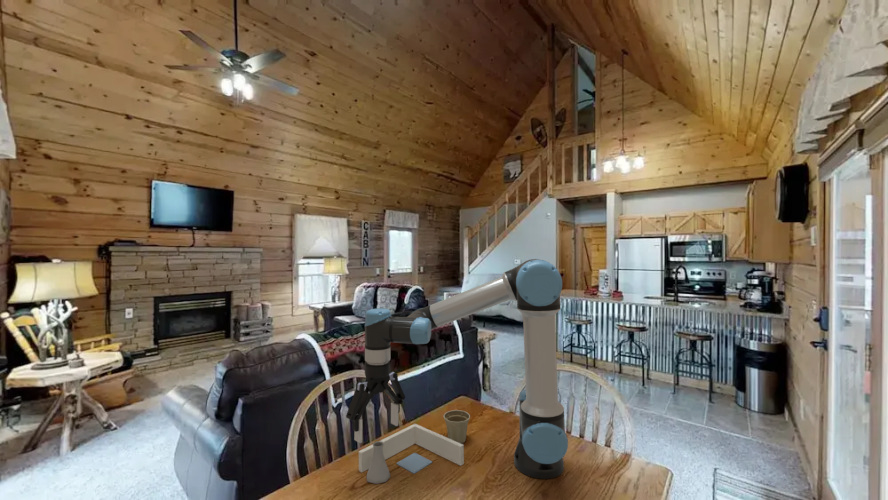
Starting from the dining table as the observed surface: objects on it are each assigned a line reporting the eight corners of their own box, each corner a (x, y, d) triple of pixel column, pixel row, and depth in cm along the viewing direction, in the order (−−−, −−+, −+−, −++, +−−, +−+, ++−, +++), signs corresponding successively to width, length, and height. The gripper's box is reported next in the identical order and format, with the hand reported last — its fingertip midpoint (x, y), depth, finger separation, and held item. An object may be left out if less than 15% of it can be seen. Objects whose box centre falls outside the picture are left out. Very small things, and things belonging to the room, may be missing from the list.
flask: (369, 469, 116) (368, 437, 116) (392, 470, 116) (392, 437, 116) (363, 484, 109) (363, 450, 109) (388, 484, 109) (388, 450, 109)
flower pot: (460, 450, 127) (460, 424, 127) (438, 441, 133) (438, 417, 133) (475, 438, 135) (475, 414, 135) (453, 430, 140) (453, 407, 140)
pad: (432, 462, 120) (432, 461, 120) (414, 473, 114) (414, 473, 114) (414, 453, 125) (414, 452, 125) (396, 463, 119) (396, 463, 119)
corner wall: (463, 463, 119) (463, 444, 119) (408, 502, 101) (407, 480, 101) (415, 440, 134) (414, 423, 134) (358, 470, 116) (358, 451, 116)
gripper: (400, 350, 124) (400, 414, 124) (333, 368, 105) (333, 444, 106) (416, 355, 119) (416, 421, 119) (349, 374, 100) (349, 454, 101)
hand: (377, 432), depth 112 cm, fingers open, 13 cm apart
